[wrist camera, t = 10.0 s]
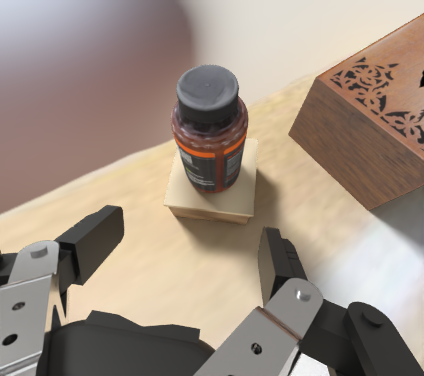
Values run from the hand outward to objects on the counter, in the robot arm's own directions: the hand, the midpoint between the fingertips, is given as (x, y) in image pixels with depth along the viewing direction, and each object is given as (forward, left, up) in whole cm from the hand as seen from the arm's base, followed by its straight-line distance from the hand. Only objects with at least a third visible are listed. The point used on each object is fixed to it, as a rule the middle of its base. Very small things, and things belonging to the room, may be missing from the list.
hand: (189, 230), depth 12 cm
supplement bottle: (0, -9, -9) cm, 13 cm away
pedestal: (0, -9, -14) cm, 17 cm away
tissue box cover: (-24, -22, -15) cm, 36 cm away
